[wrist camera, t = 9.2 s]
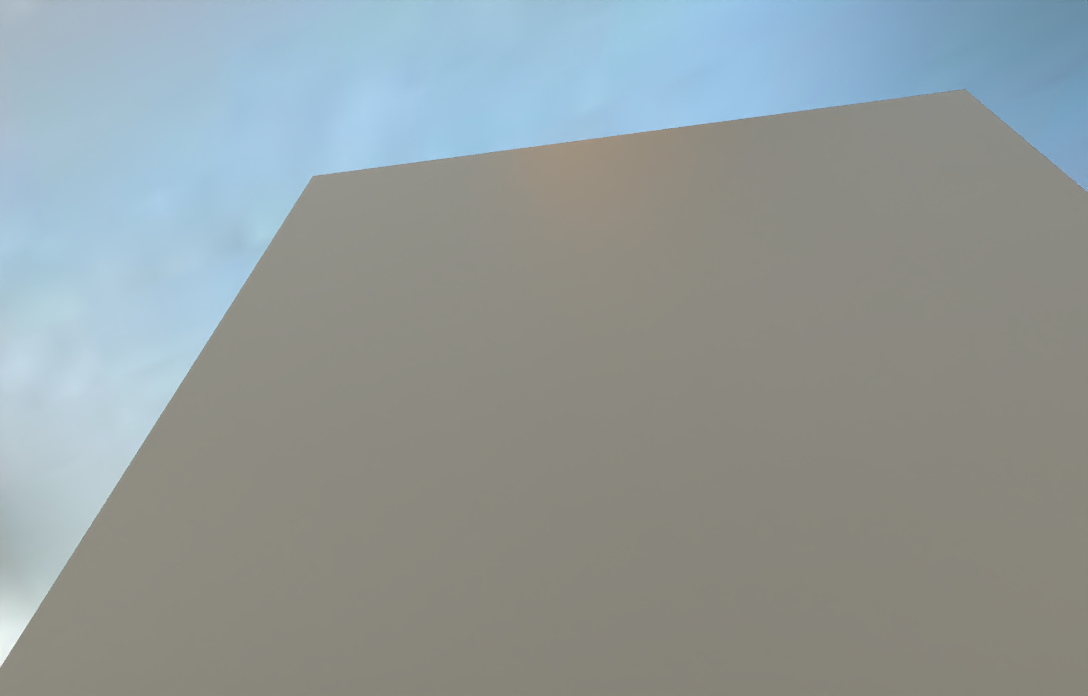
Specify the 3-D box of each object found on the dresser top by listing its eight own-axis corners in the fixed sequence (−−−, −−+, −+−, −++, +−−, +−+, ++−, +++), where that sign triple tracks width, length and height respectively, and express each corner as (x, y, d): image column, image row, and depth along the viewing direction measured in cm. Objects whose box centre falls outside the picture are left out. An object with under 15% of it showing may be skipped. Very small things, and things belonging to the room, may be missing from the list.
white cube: (884, 529, 13) (1157, 1208, 7) (451, 558, 14) (354, 1181, 8) (966, 88, 9) (1986, 948, 2) (313, 176, 9) (-185, 955, 3)
